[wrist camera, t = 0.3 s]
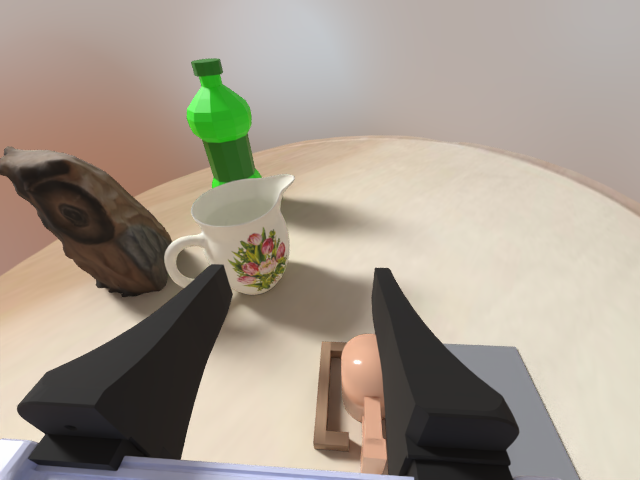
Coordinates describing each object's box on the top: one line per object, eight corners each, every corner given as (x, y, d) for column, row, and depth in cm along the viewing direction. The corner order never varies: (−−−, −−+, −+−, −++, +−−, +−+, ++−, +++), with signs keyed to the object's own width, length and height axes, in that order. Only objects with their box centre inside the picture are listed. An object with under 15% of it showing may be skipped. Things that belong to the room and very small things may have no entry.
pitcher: (178, 287, 41) (134, 207, 33) (285, 237, 49) (272, 162, 41) (203, 341, 34) (155, 257, 26) (323, 273, 42) (317, 191, 33)
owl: (168, 294, 41) (88, 160, 28) (68, 318, 38) (-68, 183, 26) (177, 241, 50) (121, 123, 37) (97, 257, 48) (9, 137, 35)
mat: (619, 565, 19) (621, 565, 19) (450, 547, 20) (451, 547, 20) (514, 347, 32) (515, 346, 32) (412, 343, 33) (413, 342, 33)
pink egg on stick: (401, 482, 23) (414, 457, 19) (339, 476, 24) (338, 450, 19) (389, 372, 30) (397, 335, 26) (342, 369, 31) (341, 332, 26)
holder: (425, 457, 24) (429, 452, 24) (314, 448, 25) (313, 443, 24) (408, 352, 32) (410, 345, 31) (322, 348, 33) (321, 341, 32)
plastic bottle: (276, 195, 61) (253, 56, 45) (241, 220, 54) (199, 67, 38) (242, 185, 65) (210, 55, 49) (206, 207, 58) (155, 65, 43)
